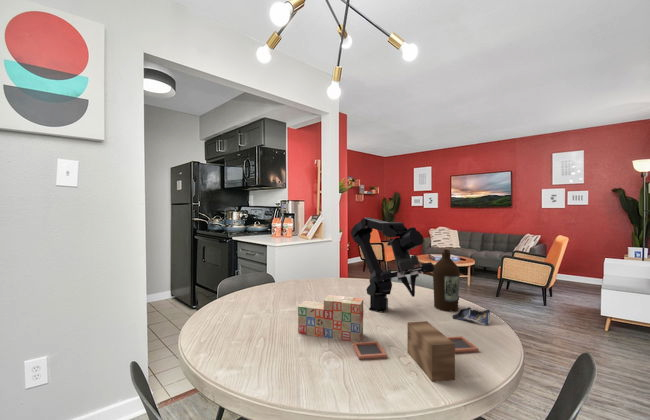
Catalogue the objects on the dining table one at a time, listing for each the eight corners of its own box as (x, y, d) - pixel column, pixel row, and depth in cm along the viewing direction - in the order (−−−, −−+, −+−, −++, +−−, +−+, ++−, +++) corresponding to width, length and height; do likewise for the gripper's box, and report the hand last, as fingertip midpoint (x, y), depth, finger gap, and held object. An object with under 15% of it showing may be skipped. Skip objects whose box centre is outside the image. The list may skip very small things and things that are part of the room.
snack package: (468, 329, 100) (496, 325, 102) (465, 310, 101) (493, 307, 103) (447, 321, 111) (473, 318, 113) (445, 304, 112) (471, 302, 114)
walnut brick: (407, 352, 82) (407, 322, 82) (426, 351, 83) (426, 321, 83) (431, 382, 68) (432, 345, 68) (454, 380, 69) (454, 343, 69)
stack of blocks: (297, 333, 95) (297, 297, 95) (304, 326, 101) (304, 292, 100) (360, 343, 88) (360, 303, 88) (363, 334, 94) (363, 297, 94)
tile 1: (352, 346, 86) (352, 342, 86) (377, 344, 87) (377, 341, 87) (359, 359, 78) (359, 356, 78) (386, 358, 79) (386, 354, 79)
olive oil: (427, 304, 124) (427, 247, 124) (448, 302, 126) (448, 247, 126) (442, 313, 113) (443, 251, 113) (465, 311, 116) (465, 250, 116)
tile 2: (438, 340, 89) (438, 337, 89) (461, 339, 90) (461, 336, 90) (453, 353, 81) (453, 350, 81) (478, 351, 82) (478, 348, 82)
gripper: (375, 255, 99) (386, 300, 93) (429, 243, 96) (444, 289, 90) (377, 260, 109) (387, 302, 103) (425, 249, 106) (439, 291, 100)
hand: (413, 296), depth 99 cm, fingers closed
